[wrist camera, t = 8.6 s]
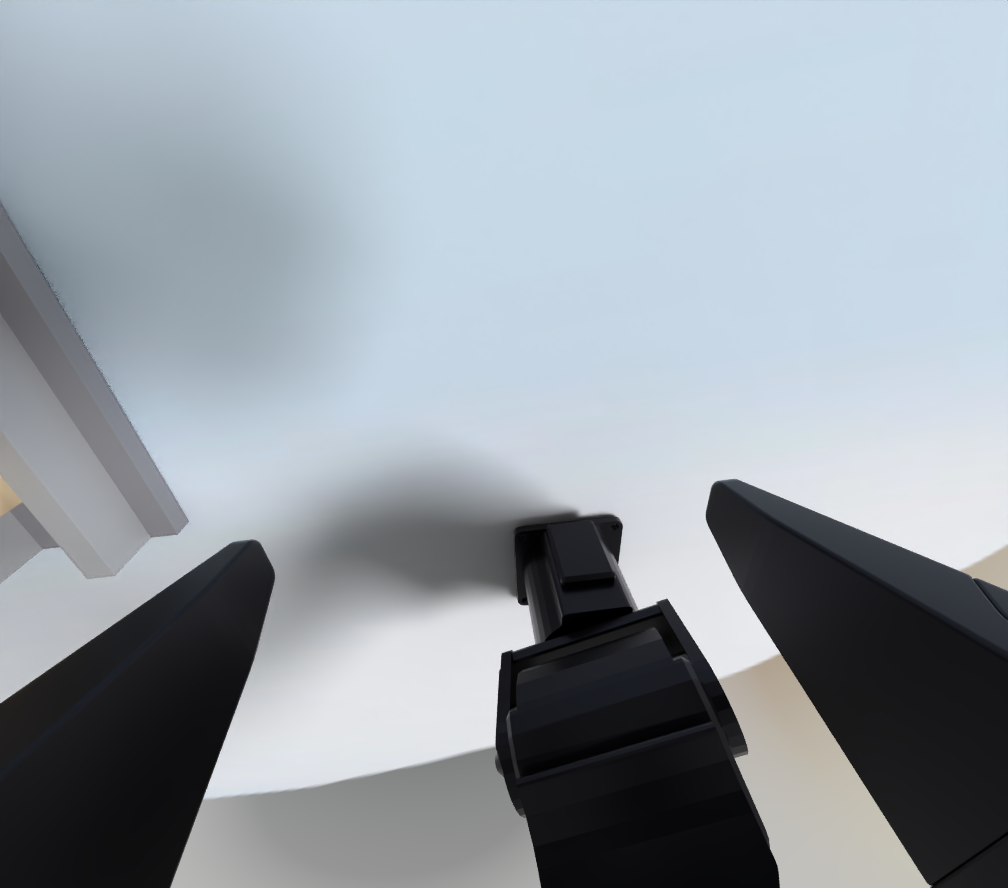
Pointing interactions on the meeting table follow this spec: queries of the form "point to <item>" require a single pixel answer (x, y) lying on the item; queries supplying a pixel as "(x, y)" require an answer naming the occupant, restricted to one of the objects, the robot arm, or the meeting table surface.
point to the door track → (66, 437)
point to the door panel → (7, 498)
